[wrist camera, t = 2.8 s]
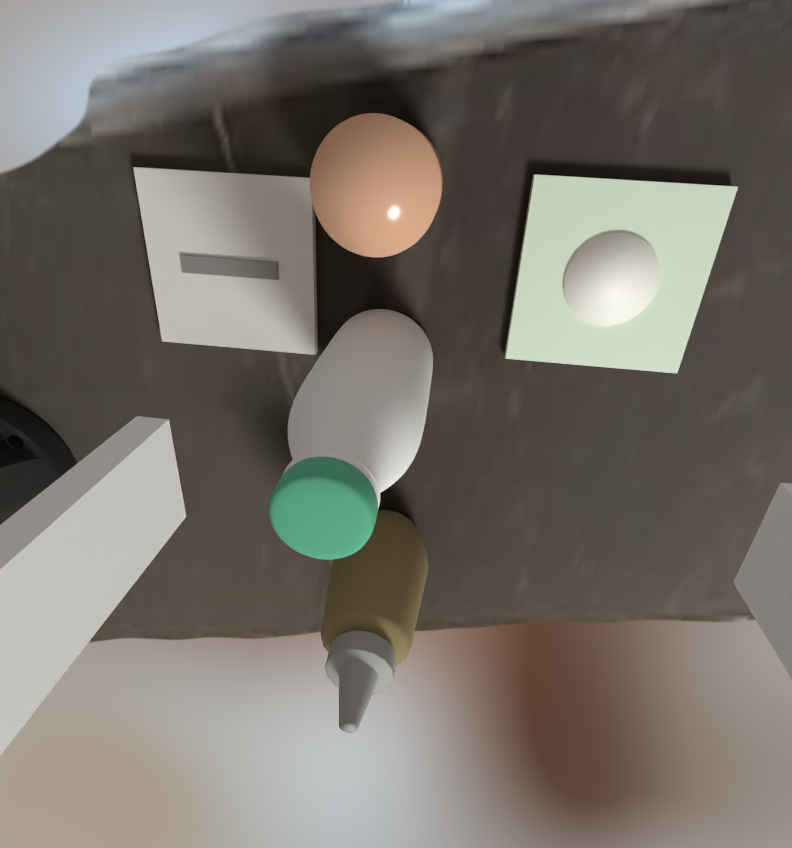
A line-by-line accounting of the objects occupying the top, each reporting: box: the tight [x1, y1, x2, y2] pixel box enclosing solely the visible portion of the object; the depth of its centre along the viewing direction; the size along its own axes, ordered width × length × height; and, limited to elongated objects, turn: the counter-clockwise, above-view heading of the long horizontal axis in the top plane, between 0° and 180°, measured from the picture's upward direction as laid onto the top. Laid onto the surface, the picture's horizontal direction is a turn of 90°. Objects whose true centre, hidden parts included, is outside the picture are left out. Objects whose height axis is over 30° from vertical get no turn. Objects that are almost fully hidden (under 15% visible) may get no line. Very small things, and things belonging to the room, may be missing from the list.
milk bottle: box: [269, 309, 433, 559], centre depth 31 cm, size 8×8×20 cm
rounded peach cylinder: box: [310, 113, 444, 257], centre depth 31 cm, size 7×7×7 cm
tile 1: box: [133, 167, 318, 355], centre depth 37 cm, size 12×12×1 cm
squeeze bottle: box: [321, 510, 428, 733], centre depth 39 cm, size 8×8×18 cm
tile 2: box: [505, 174, 738, 373], centre depth 35 cm, size 12×12×1 cm
